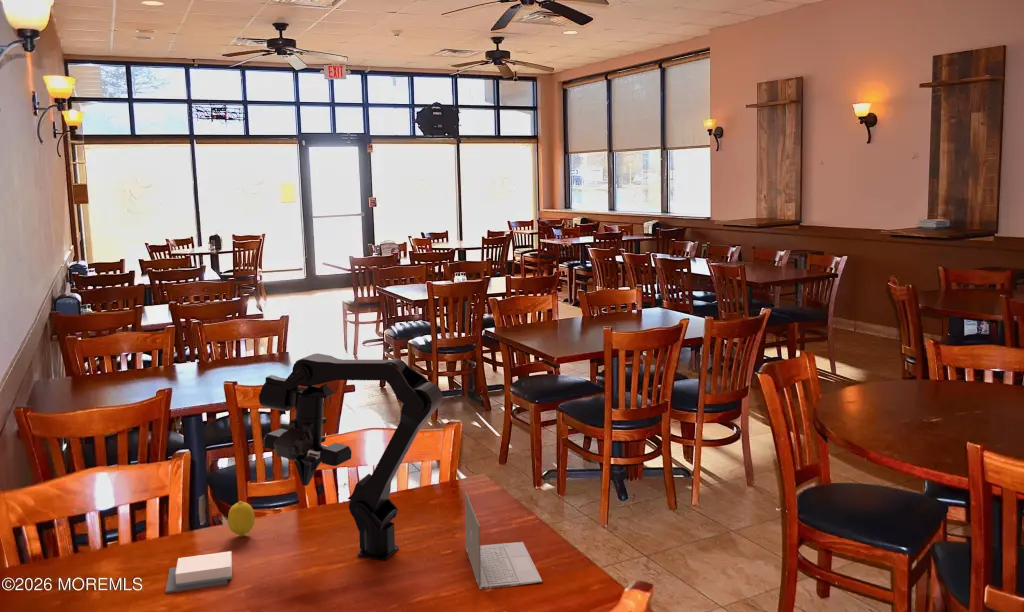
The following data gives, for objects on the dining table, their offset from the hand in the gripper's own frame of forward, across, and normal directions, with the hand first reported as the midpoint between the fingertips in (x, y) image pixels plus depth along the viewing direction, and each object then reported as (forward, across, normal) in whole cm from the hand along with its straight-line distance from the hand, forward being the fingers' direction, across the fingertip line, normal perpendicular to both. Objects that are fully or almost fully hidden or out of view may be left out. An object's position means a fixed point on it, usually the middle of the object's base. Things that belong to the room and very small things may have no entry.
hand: (305, 485), depth 174 cm
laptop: (+10, +43, +8) cm, 45 cm away
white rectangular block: (+12, -4, -17) cm, 21 cm away
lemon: (+15, -14, -2) cm, 21 cm away
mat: (+14, -9, -21) cm, 27 cm away
